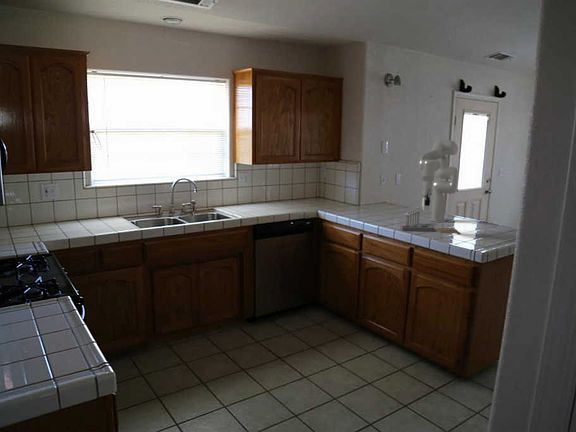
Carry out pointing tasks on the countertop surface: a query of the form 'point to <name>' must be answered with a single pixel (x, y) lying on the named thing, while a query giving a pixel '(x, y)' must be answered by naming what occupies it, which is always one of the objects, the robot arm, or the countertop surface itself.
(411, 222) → the test tube rack
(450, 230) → the walnut board
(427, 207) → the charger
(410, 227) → the power strip
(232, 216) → the countertop surface
